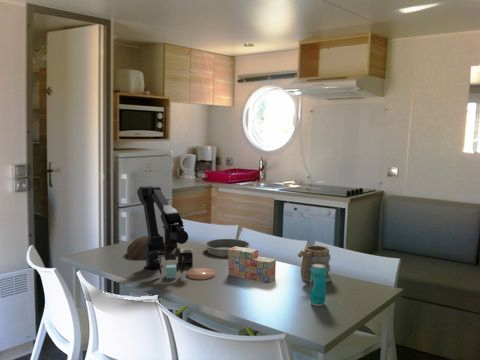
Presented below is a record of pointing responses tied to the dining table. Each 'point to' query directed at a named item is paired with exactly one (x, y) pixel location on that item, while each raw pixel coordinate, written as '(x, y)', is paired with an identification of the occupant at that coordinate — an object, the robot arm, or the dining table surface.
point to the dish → (201, 273)
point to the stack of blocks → (250, 264)
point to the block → (170, 271)
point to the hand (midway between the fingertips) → (171, 273)
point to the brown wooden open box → (182, 257)
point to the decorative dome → (137, 248)
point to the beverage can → (318, 284)
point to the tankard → (314, 261)
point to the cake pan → (224, 246)
